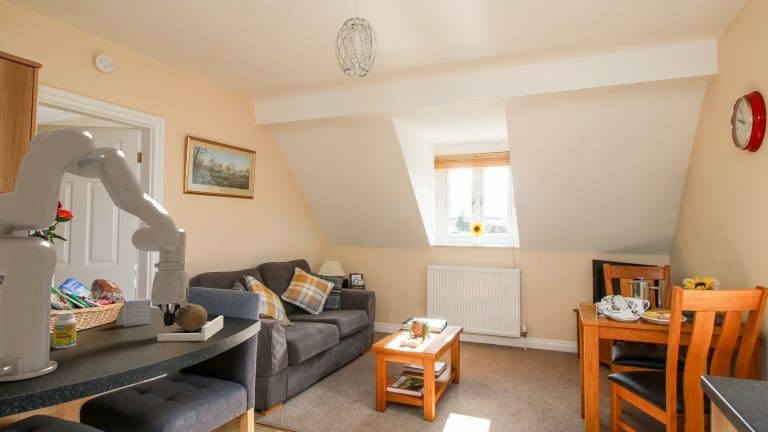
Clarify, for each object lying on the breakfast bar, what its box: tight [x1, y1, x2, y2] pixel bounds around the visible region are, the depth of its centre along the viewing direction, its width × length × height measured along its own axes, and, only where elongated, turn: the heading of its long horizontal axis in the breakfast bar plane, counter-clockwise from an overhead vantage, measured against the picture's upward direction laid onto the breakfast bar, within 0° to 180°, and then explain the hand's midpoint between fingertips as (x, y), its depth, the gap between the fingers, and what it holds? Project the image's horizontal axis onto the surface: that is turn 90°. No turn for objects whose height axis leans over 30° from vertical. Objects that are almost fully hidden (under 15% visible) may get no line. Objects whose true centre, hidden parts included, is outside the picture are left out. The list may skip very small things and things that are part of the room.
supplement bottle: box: [52, 310, 77, 349], centre depth 127 cm, size 5×5×10 cm
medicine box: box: [122, 297, 152, 328], centre depth 156 cm, size 8×4×9 cm, turn 130°
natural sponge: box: [175, 302, 208, 332], centre depth 146 cm, size 9×9×10 cm
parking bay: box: [156, 315, 224, 342], centre depth 143 cm, size 18×14×4 cm
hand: (169, 325), depth 141 cm, fingers closed
